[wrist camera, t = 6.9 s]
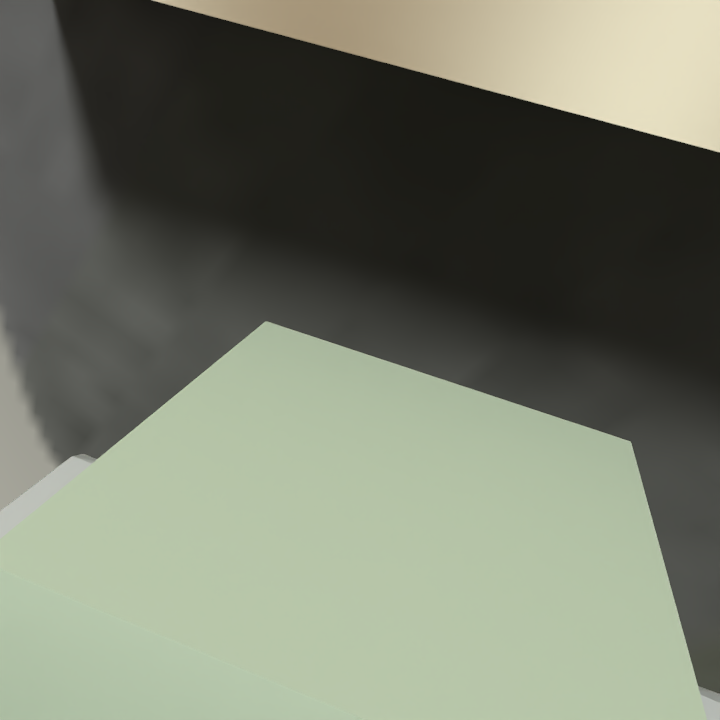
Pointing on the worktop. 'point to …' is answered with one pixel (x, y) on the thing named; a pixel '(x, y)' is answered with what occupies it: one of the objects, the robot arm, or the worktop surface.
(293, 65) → the worktop surface
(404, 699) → the sage block
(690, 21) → the birch plinth
